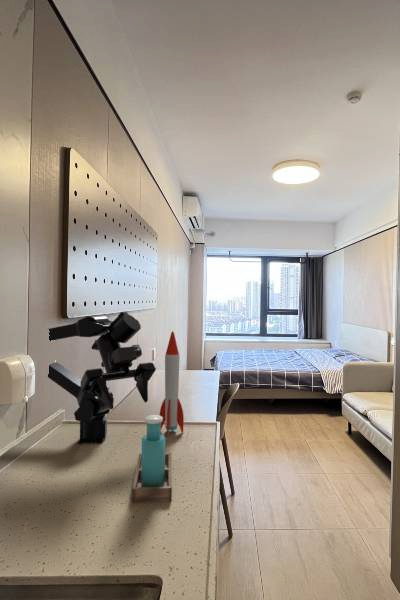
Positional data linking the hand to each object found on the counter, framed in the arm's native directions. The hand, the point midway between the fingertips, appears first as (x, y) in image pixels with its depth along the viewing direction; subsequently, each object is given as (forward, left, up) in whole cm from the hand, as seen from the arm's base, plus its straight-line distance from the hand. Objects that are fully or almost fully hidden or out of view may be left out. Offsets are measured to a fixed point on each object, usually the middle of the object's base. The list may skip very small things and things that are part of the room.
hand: (130, 404), depth 83 cm
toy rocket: (+10, +17, -14) cm, 24 cm away
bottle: (+6, -14, -13) cm, 20 cm away
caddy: (+6, -10, -14) cm, 18 cm away
